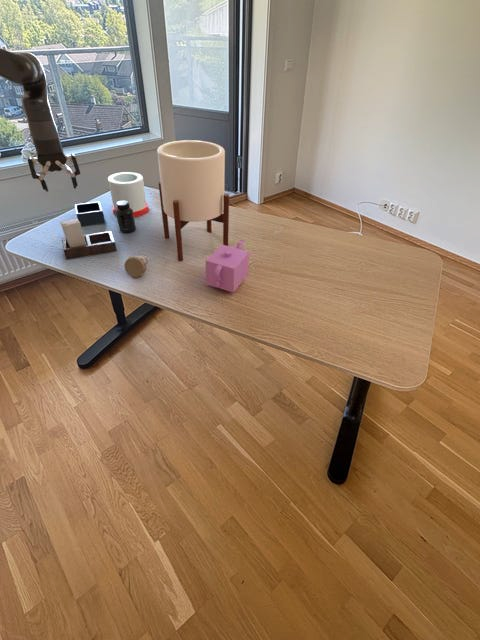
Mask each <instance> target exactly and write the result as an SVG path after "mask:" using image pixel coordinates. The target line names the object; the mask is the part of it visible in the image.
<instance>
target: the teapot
mask: <svg viewBox="0 0 480 640" xmlns="http://www.w3.org/2000/svg"><path fill="white" fill-rule="evenodd" d="M243 245H244V240H243V239H241V240H239V241H238V242H237V245H236V247H233V246H230V245H228V246H226V245H223V244H221V245H220V246H219V247H218V248H217V249H216V250H215V251H214V252H213V253H212V254H211V255H210V256H208V258H207V259H205V284H206V285H208V286H211V287H212V288H217V289H220V290H225V291H228V293H235V292H236V290H237V289H238V288H239V287H240V285H241V284H242V283H243V282H244V281H245V279H246V278H247V276H248V275H249V264H250V251H249V250H244V249H242V248H243Z"/></svg>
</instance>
